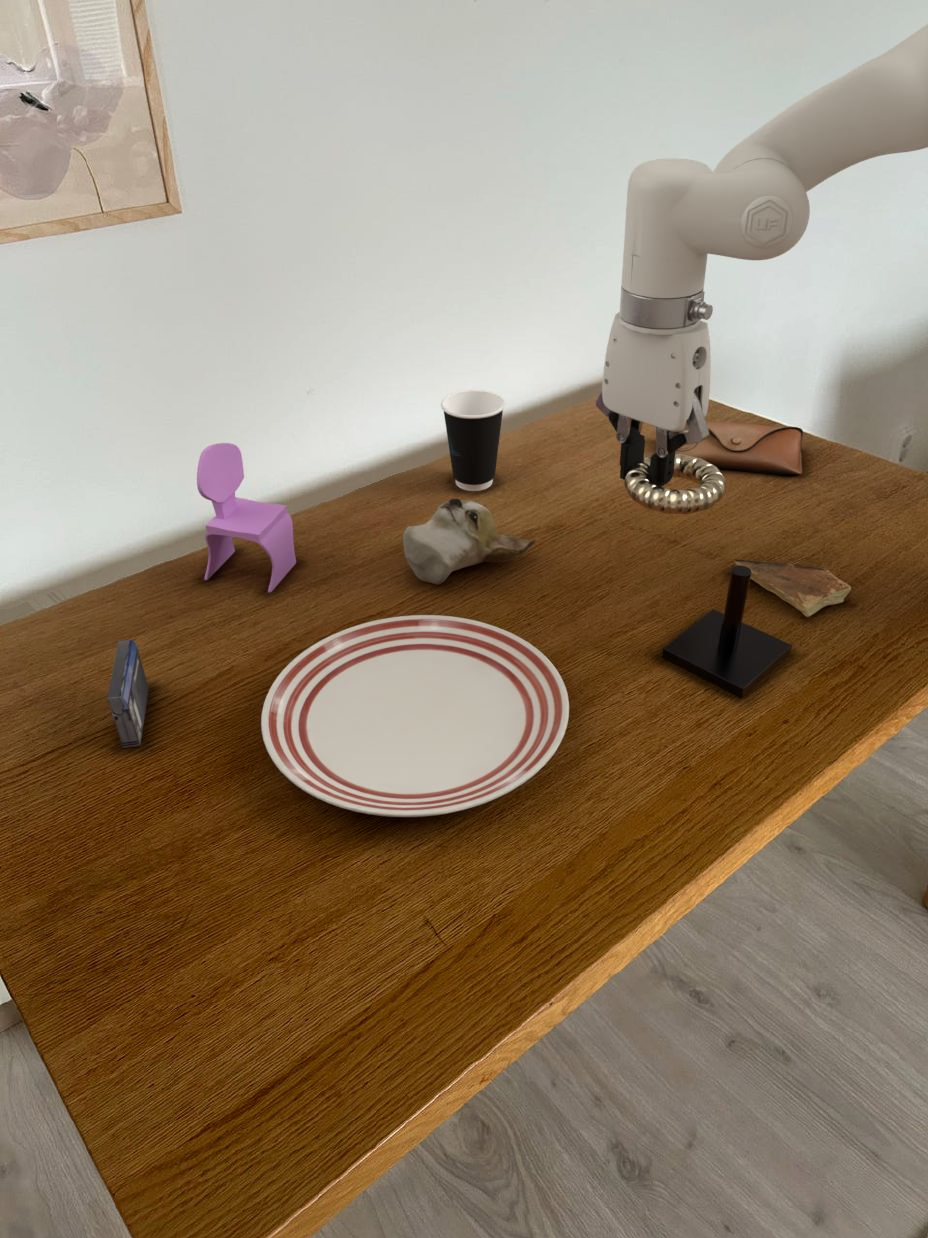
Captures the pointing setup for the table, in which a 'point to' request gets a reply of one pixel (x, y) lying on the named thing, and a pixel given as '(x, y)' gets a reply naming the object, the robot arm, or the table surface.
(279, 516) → the toy chair
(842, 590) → the shard
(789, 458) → the sunglasses case
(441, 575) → the ceramic sculpture
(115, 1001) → the table surface
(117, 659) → the mini dv tape
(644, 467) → the ribbed metal ring
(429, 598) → the table surface
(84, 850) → the table surface
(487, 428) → the dixie cup
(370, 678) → the dinner plate
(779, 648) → the stand
